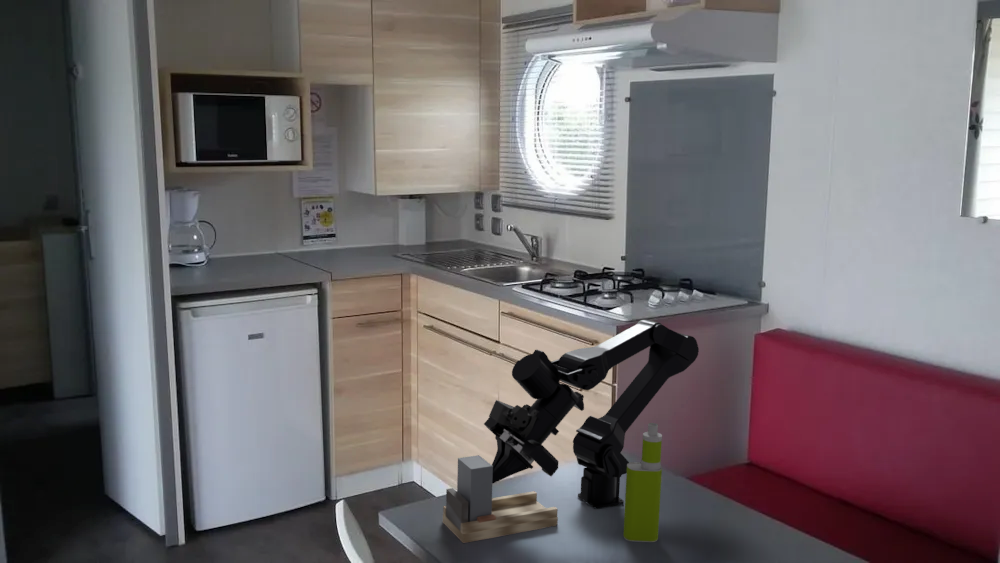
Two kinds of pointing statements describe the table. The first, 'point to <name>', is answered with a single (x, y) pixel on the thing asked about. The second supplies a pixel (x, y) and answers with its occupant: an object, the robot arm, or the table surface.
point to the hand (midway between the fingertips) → (488, 482)
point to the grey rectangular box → (475, 485)
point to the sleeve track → (497, 516)
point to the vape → (644, 490)
